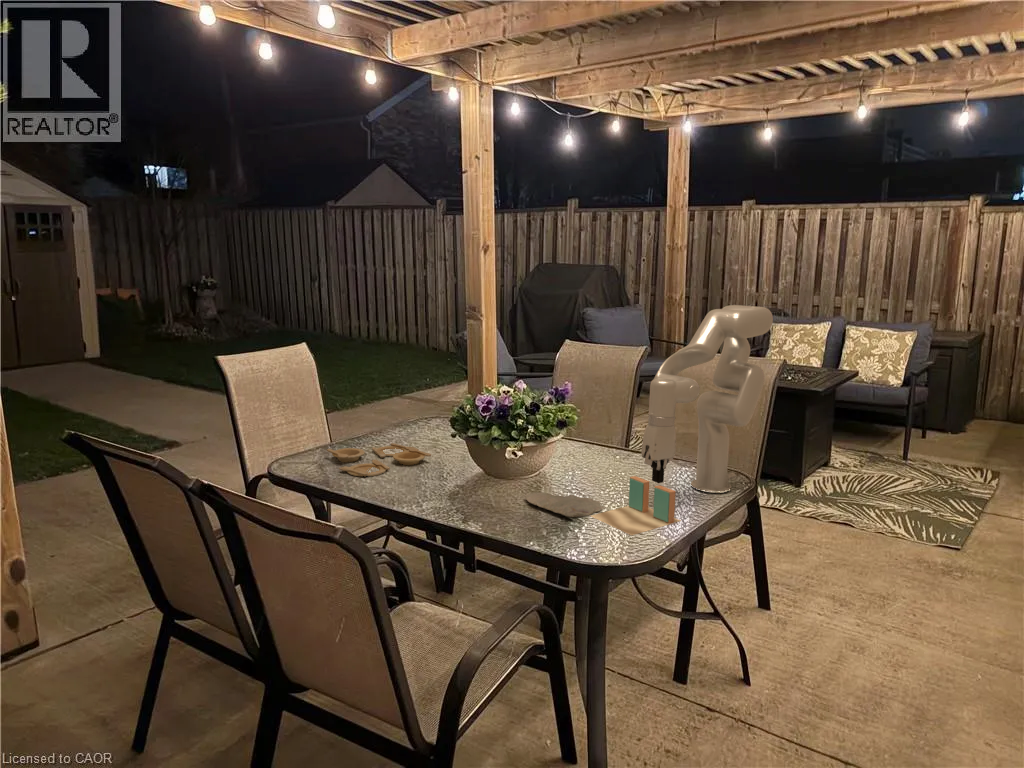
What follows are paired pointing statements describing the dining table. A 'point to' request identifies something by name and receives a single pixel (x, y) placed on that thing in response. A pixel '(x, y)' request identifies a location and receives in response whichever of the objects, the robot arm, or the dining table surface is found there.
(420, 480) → the dining table surface
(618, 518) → the board
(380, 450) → the tableware set
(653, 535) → the dining table surface
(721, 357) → the robot arm
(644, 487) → the tile
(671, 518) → the tile
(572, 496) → the stone tool
